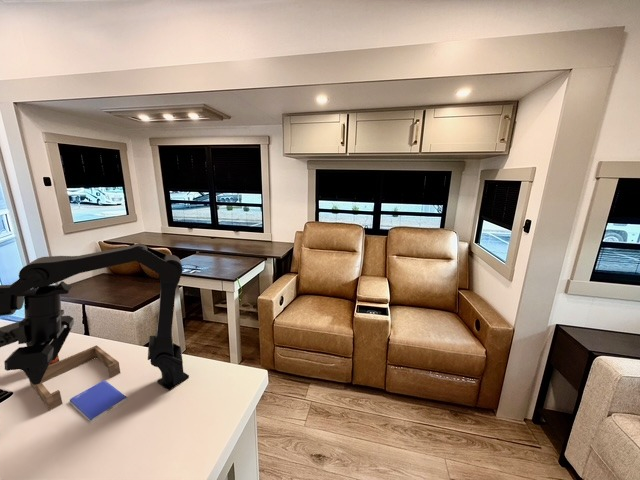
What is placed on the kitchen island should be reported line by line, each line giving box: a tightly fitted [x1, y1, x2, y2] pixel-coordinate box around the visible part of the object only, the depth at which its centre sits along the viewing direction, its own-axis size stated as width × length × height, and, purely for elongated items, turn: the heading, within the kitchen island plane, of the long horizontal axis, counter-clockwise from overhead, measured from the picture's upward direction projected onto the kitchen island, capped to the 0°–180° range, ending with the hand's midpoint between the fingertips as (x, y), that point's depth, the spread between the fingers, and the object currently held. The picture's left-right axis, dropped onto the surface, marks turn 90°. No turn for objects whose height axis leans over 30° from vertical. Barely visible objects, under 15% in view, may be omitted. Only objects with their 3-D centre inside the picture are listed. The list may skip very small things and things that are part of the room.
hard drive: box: [69, 380, 128, 423], centre depth 70 cm, size 2×8×12 cm
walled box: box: [28, 345, 121, 411], centre depth 76 cm, size 16×16×4 cm
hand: (45, 371), depth 61 cm, fingers open, 9 cm apart
